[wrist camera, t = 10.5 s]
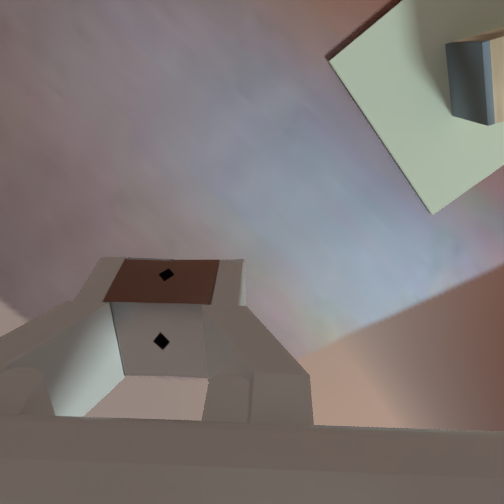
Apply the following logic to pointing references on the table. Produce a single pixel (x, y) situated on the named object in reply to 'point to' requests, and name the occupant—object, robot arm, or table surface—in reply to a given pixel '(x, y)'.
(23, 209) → the table surface
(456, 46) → the block
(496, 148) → the mat
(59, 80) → the table surface
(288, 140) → the table surface
